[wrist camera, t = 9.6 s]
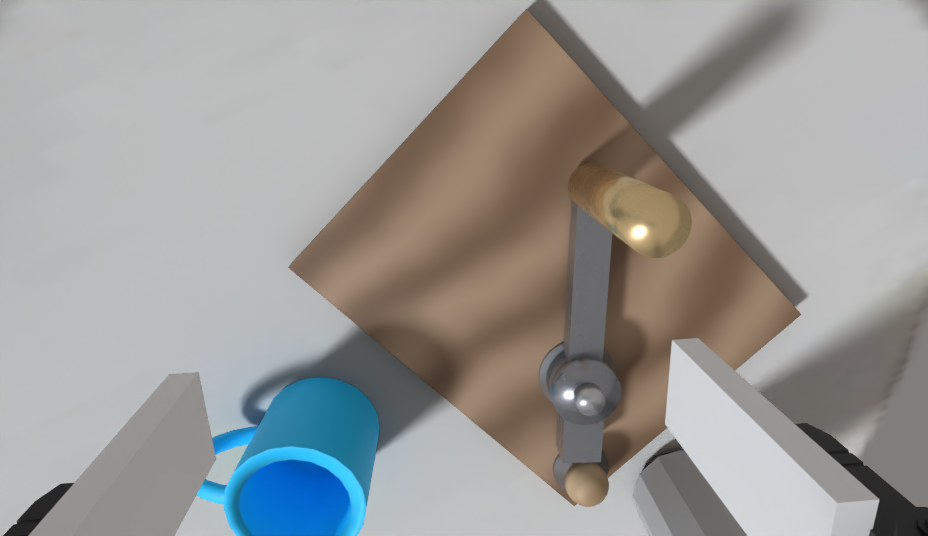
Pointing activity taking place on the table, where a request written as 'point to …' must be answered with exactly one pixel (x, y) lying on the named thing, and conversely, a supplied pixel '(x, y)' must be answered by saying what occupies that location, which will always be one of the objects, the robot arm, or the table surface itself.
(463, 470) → the table surface
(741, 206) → the table surface
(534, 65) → the nutcracker base
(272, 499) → the mug
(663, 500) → the water bottle
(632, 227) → the lever
